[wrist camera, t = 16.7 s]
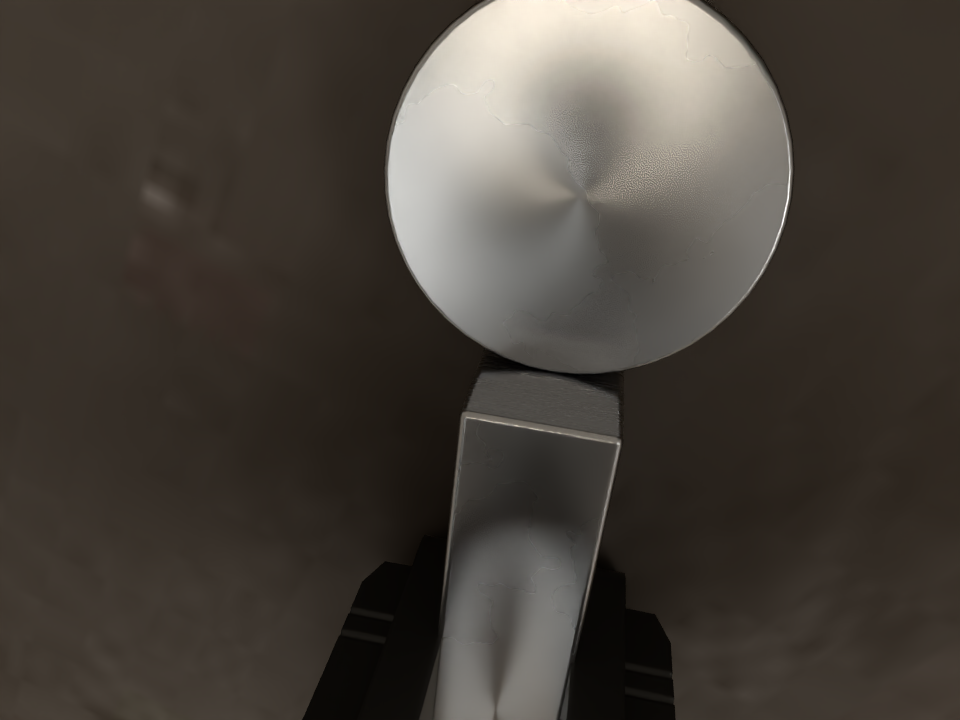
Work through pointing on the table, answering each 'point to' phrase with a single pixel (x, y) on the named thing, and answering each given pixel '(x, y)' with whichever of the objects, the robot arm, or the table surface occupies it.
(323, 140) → the table surface
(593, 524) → the spoon
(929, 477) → the table surface
